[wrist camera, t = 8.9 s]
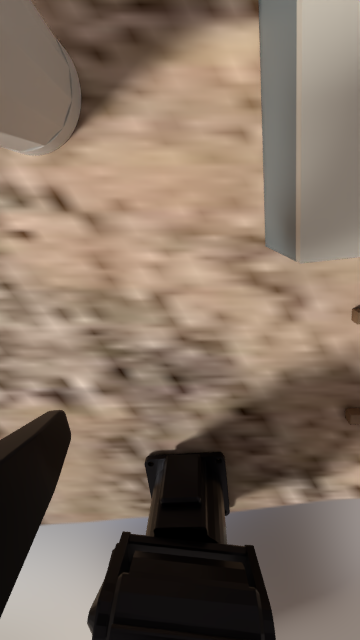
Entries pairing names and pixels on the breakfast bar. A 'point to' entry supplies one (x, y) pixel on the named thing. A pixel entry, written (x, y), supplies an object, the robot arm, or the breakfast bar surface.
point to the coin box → (311, 127)
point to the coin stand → (354, 413)
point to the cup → (34, 83)
